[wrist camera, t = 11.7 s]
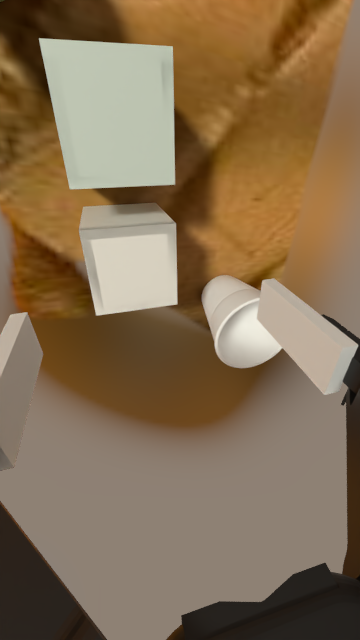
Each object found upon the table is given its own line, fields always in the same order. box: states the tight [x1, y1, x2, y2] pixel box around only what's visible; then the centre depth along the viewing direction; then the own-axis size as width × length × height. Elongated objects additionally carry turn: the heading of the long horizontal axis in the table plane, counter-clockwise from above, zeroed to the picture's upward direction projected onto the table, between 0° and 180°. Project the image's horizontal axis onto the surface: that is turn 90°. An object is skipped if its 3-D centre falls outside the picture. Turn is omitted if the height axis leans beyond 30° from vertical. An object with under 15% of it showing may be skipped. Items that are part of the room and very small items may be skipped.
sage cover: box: [39, 38, 175, 189], centre depth 23 cm, size 8×8×10 cm
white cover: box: [79, 203, 177, 315], centre depth 29 cm, size 8×8×10 cm
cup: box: [202, 275, 282, 368], centre depth 36 cm, size 10×10×11 cm
